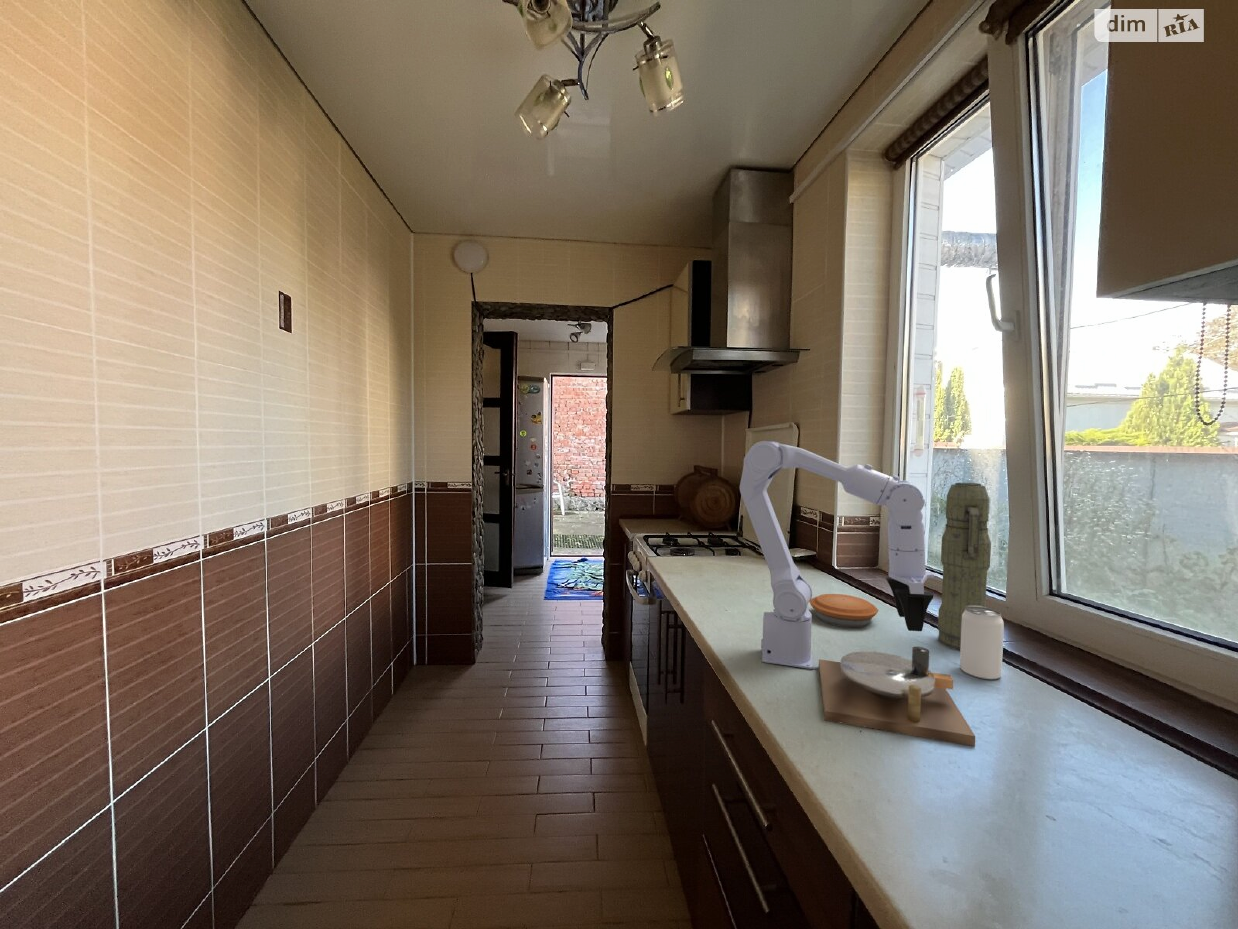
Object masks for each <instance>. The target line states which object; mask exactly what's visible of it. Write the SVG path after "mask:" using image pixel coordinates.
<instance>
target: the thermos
mask: <svg viewBox="0 0 1238 929" xmlns="http://www.w3.org/2000/svg"><path fill="white" fill-rule="evenodd" d="M945 504H946V507H945V518H946V524H944V525H945V528H944V529H945V530H943V531H944V532H943V534H942V537H941V547H940V548H941V551H940V563H941V565H942V583H941V584H942V586H941V587H942V591H941V592H942V593H941V604H940V606H939V608H938V612H937V613H938V617H937V630H938V636H937V637H938V640H937V641H938V642H939V643H940V645H943V646H945V647H946V648H947V647H948V648H950V649H954V650H956V651H960V648H961V624H962V614H963V613H964V611H965V607H966V606H981V607H986V604H987V581H988V578H987V577H988V571H989V569H990V568H991V553H992V552H991V549H992V541H991V538H990V536H989V528H988V522H989V517H990V516H989V512H990V497H989V493H988V490H987V487H986V486H985V485H982V484H981V483H976V482H975V483H974V482H955V483H953V484H950V487H949V490H948V492H947V494H946V503H945Z"/></svg>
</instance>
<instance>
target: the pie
mask: <svg viewBox="0 0 1238 929" xmlns="http://www.w3.org/2000/svg"><path fill="white" fill-rule="evenodd" d="M809 604H810V606H811V607H812V608H813V609H814V611H815V613H816V616H817V617H818V618H819V619H820V620H821V621H823V622H825V623H827V624H830V625H834V626H838V627H845V628H862V627H865V626H867V625H868V624H869V623H870V622H871V621H872V619H873V618H874V617H875V616H877V614H878V612H879V611H880V610H879V609H878V608H877V607H876V606H875V605H874V604H873V603H871V602H870V601H868V600H866V599H863V598H860V597H859V596H858V597H857V596H854V595H849V594H848V595H847V594H842V593H841V594H840V593H826V594H823V593H822V594H820V595H818V596H815V597H812V598H811V600H810V602H809Z"/></svg>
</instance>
